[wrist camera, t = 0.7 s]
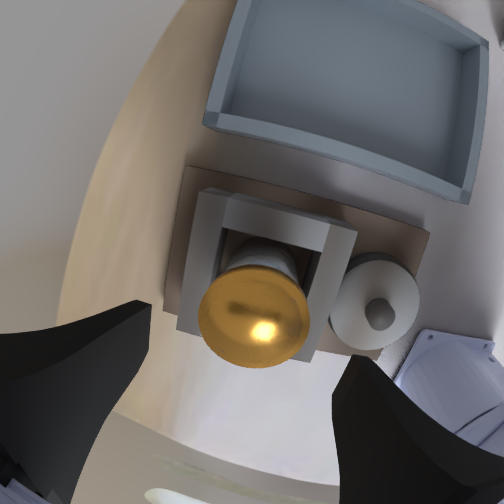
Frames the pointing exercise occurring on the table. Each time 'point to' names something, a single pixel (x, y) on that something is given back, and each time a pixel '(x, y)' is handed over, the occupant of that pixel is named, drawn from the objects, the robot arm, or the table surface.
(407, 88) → the tray
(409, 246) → the board
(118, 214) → the table surface
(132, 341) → the robot arm
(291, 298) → the gold-rimmed cylinder
